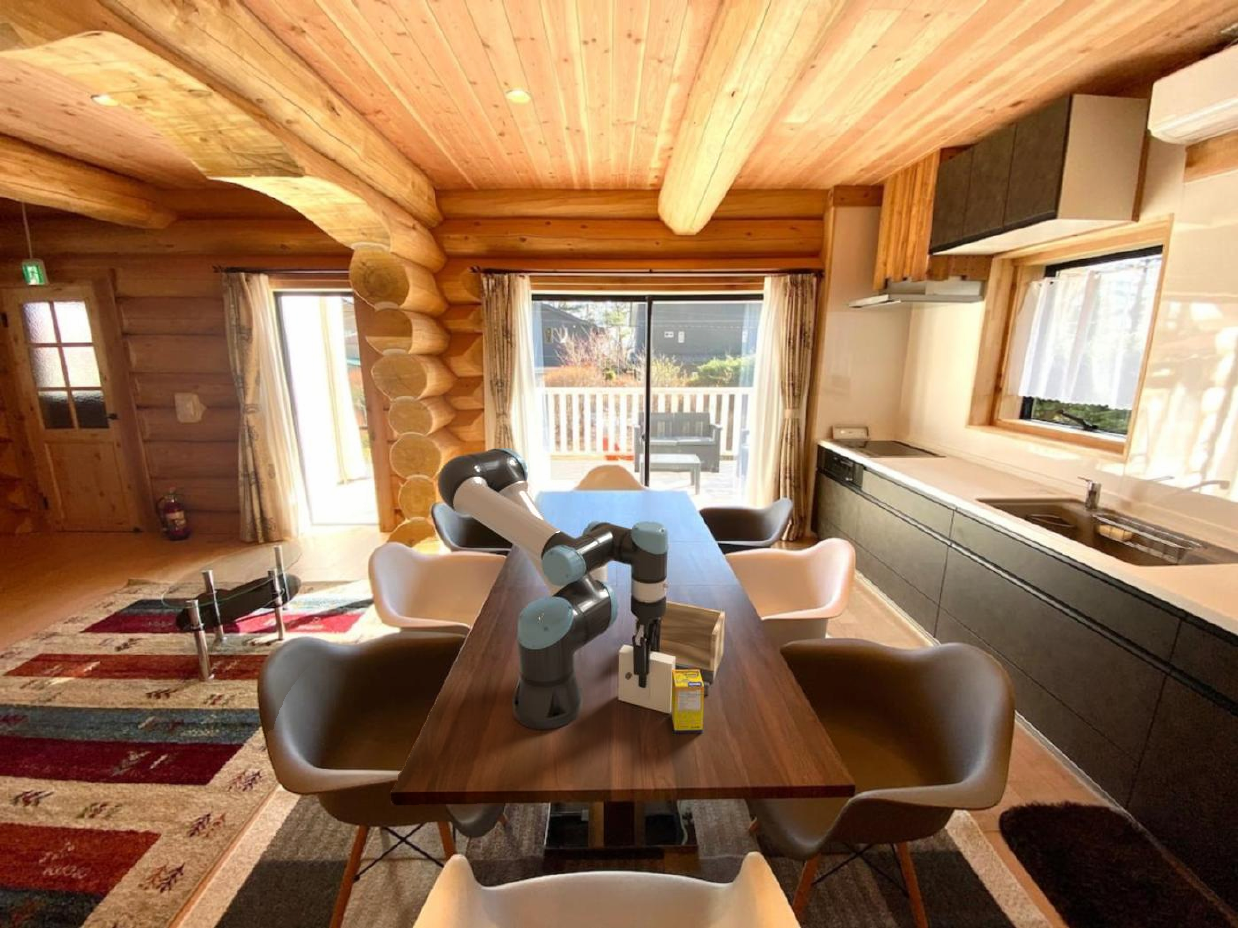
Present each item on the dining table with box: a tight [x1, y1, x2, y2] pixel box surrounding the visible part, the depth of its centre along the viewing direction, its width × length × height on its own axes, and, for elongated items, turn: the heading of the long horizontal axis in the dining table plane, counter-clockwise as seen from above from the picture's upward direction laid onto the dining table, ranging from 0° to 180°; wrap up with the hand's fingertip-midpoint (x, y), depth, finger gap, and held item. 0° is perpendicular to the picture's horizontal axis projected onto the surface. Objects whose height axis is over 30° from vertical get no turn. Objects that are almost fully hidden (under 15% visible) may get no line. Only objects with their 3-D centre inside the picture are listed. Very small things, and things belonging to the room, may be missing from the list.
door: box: [618, 644, 676, 715], centre depth 113 cm, size 4×12×12 cm, turn 68°
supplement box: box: [670, 669, 705, 734], centre depth 108 cm, size 6×6×11 cm
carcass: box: [634, 600, 727, 696], centre depth 128 cm, size 18×20×12 cm
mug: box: [590, 563, 608, 583], centre depth 166 cm, size 12×9×11 cm
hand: (646, 692), depth 115 cm, fingers closed on door, 3 cm apart
